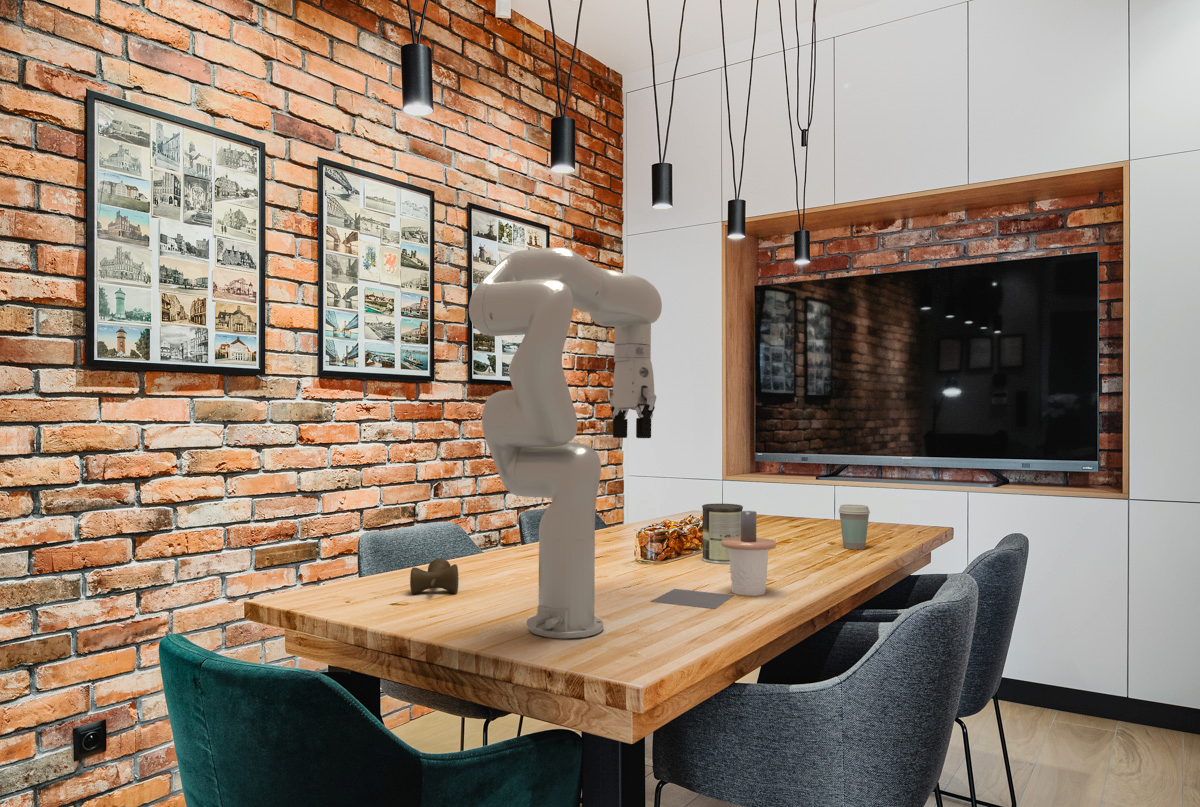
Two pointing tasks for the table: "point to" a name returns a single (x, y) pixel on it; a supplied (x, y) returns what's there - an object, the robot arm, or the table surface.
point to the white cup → (748, 571)
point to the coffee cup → (854, 525)
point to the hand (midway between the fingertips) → (631, 437)
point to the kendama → (435, 577)
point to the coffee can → (719, 530)
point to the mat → (693, 598)
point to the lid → (748, 536)
